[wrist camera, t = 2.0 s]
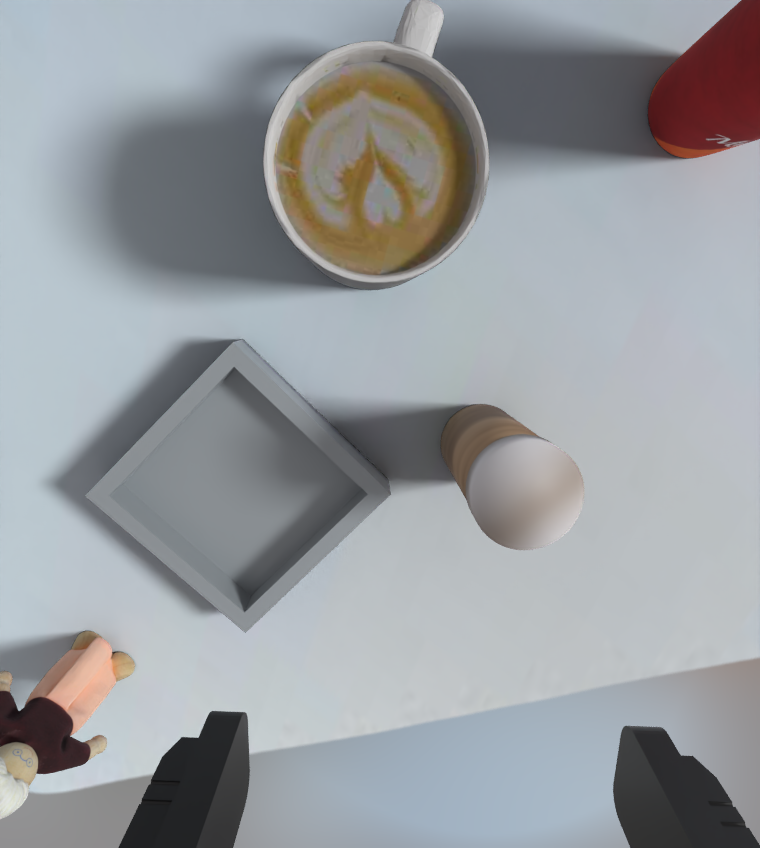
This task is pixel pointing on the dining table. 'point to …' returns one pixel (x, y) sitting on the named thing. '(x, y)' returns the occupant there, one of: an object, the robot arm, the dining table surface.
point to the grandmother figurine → (55, 716)
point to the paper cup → (712, 89)
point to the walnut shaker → (512, 478)
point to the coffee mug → (377, 157)
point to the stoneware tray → (241, 486)
